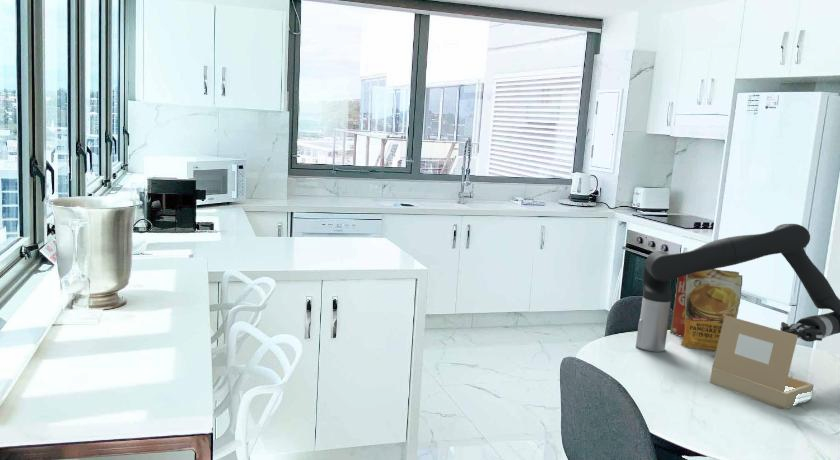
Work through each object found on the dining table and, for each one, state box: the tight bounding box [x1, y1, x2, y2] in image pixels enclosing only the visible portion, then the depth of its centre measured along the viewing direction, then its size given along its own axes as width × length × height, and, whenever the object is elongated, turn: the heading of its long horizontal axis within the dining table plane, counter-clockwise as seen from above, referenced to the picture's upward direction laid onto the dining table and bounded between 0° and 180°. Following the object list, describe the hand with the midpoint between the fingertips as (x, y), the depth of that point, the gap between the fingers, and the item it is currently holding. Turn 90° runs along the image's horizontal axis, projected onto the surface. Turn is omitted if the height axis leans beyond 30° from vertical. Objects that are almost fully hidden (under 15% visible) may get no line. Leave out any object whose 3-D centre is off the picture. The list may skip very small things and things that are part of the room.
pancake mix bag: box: [680, 268, 743, 353], centre depth 242 cm, size 7×19×28 cm, turn 77°
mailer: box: [709, 367, 815, 410], centre depth 204 cm, size 16×22×4 cm
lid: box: [711, 315, 798, 392], centre depth 198 cm, size 16×21×1 cm
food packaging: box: [669, 275, 686, 337], centre depth 257 cm, size 13×9×25 cm
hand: (787, 334), depth 208 cm, fingers closed
